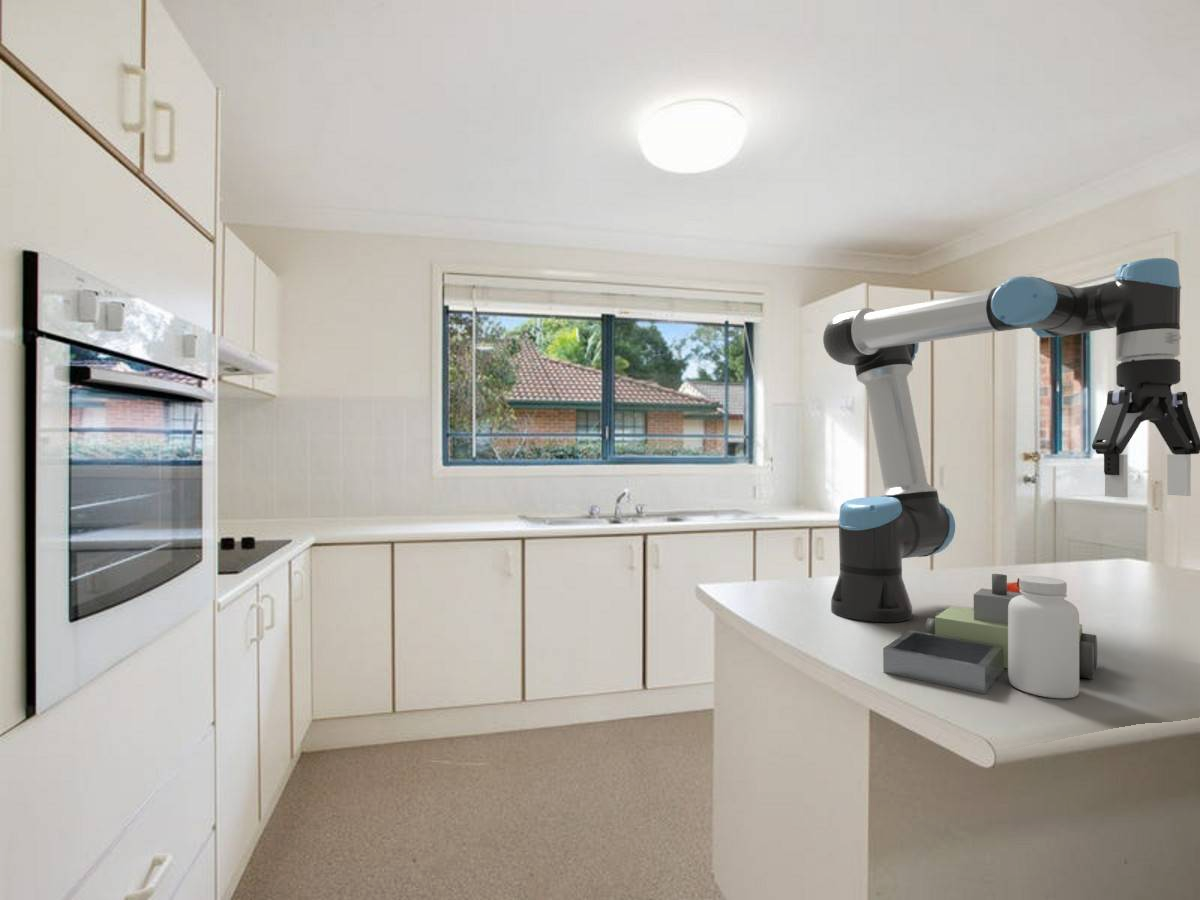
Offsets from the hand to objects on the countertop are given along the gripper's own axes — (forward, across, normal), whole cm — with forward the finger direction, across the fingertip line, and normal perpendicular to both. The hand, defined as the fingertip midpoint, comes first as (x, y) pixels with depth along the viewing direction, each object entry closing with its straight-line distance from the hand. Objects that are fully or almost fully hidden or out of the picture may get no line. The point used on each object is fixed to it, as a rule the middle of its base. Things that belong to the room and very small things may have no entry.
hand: (1148, 496), depth 97 cm
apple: (+26, +4, +25) cm, 36 cm away
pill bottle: (+26, -27, -5) cm, 38 cm away
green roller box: (+26, -21, +6) cm, 34 cm away
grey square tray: (+26, -35, +5) cm, 43 cm away
